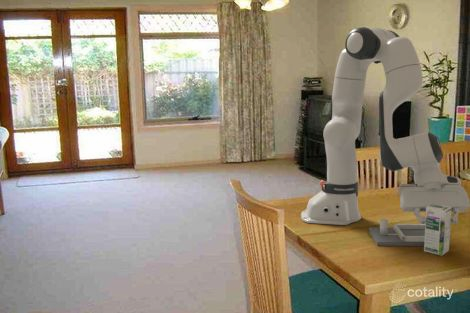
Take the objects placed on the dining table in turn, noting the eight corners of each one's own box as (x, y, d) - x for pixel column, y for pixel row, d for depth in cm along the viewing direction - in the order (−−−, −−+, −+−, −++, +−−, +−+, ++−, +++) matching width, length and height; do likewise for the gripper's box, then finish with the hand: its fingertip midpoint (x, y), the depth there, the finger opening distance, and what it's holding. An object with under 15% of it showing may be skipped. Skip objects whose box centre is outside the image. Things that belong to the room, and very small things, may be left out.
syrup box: (423, 251, 144) (425, 206, 141) (431, 246, 148) (433, 202, 145) (441, 256, 140) (444, 210, 137) (449, 250, 144) (452, 205, 141)
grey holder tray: (377, 245, 150) (377, 227, 149) (368, 230, 164) (369, 213, 163) (444, 245, 148) (445, 227, 147) (430, 230, 162) (431, 213, 161)
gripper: (398, 179, 148) (405, 218, 140) (465, 178, 146) (476, 218, 138) (394, 189, 153) (401, 227, 145) (459, 188, 151) (470, 227, 143)
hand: (438, 223), depth 142 cm, fingers open, 8 cm apart
